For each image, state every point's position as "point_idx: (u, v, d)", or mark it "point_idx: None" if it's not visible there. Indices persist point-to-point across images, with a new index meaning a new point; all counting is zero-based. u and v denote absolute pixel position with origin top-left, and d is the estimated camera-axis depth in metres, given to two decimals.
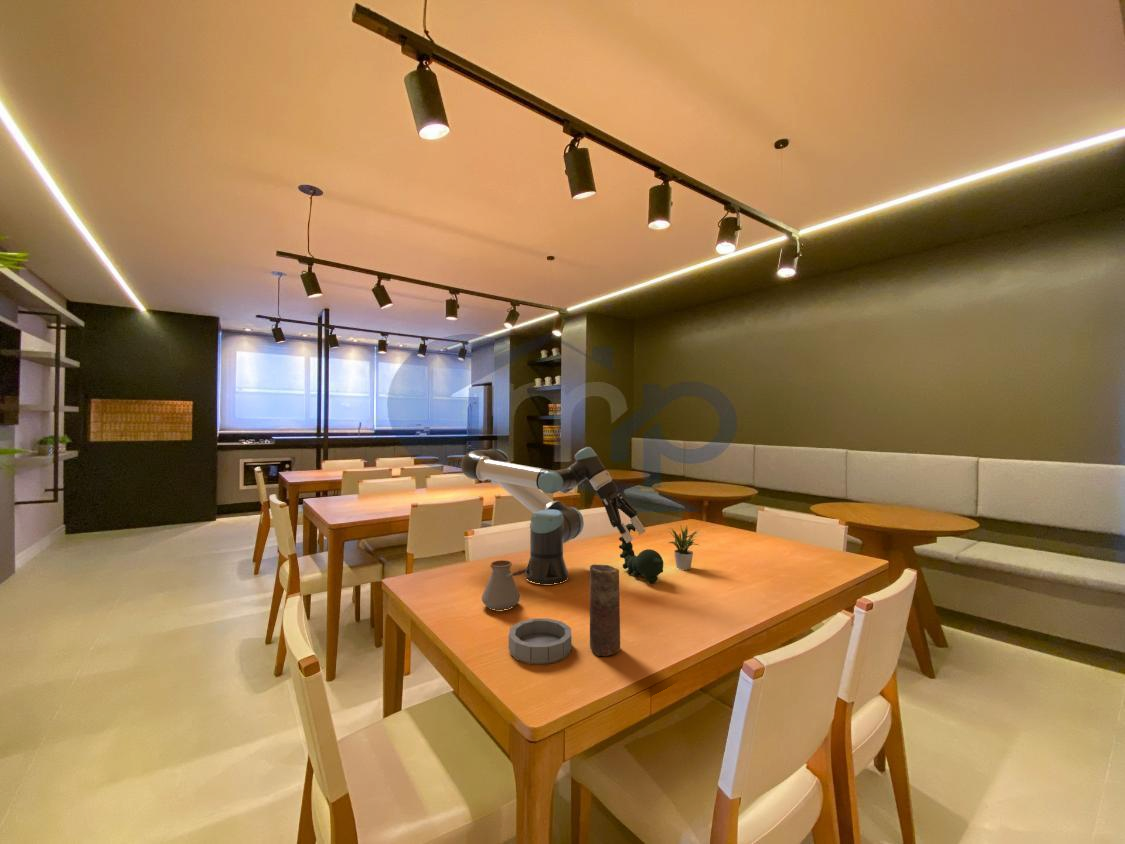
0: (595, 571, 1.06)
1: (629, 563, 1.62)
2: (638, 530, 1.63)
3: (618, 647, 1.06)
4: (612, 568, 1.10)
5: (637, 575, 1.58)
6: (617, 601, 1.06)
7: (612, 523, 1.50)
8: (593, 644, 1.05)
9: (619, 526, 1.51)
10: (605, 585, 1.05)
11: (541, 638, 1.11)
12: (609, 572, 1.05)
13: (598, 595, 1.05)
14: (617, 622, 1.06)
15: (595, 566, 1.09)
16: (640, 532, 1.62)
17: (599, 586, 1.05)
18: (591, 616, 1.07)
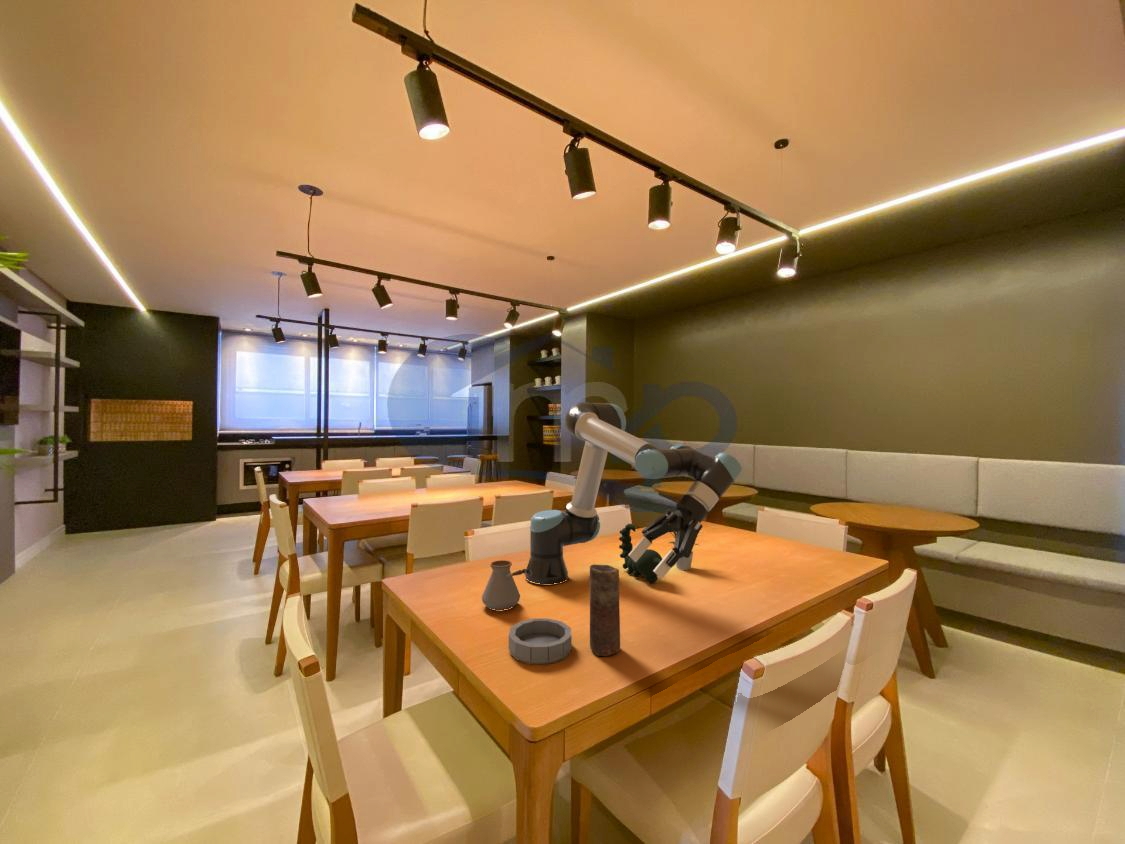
0: (595, 571, 1.06)
1: (629, 563, 1.62)
2: (634, 552, 1.17)
3: (618, 647, 1.06)
4: (612, 568, 1.10)
5: (637, 575, 1.58)
6: (617, 601, 1.06)
7: (684, 551, 1.03)
8: (593, 644, 1.05)
9: (677, 558, 1.04)
10: (605, 585, 1.05)
11: (541, 638, 1.11)
12: (609, 572, 1.05)
13: (598, 595, 1.05)
14: (617, 622, 1.06)
15: (595, 566, 1.09)
16: (632, 556, 1.17)
17: (599, 586, 1.05)
18: (591, 616, 1.07)
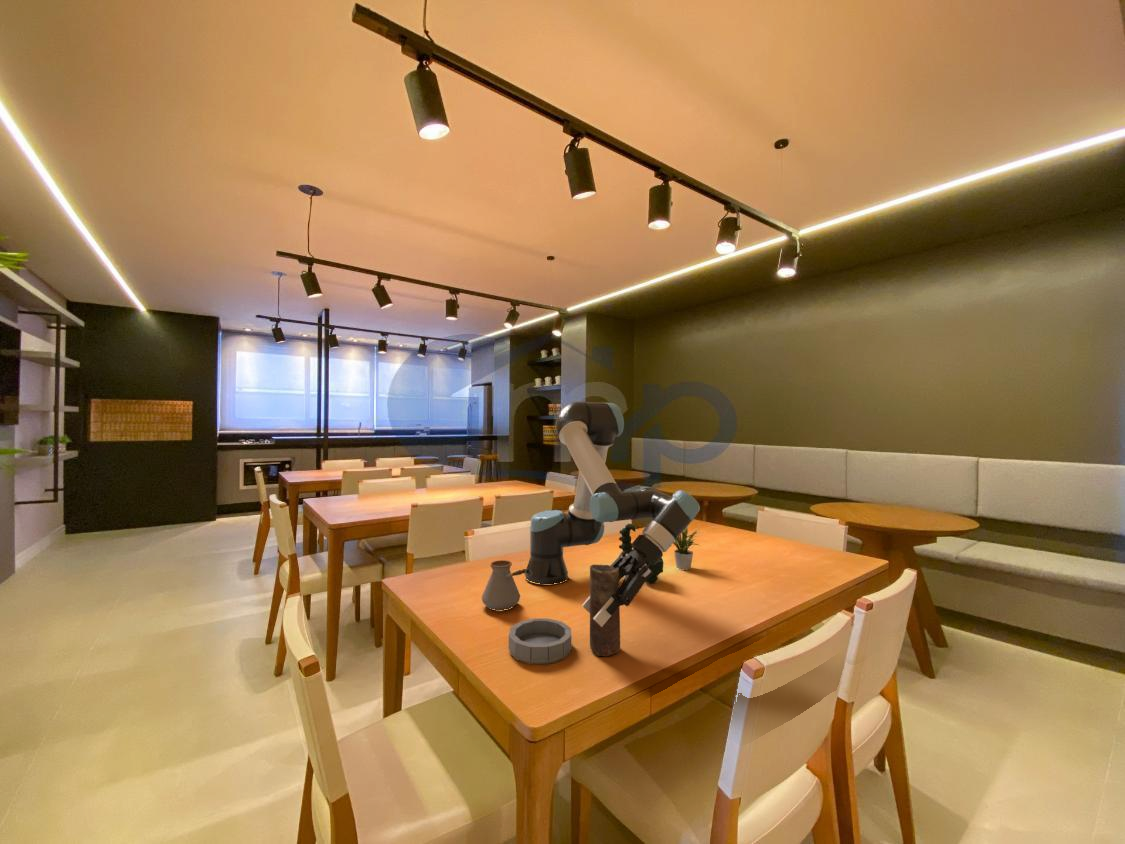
0: (595, 571, 1.05)
1: None
2: (588, 602, 1.10)
3: (618, 647, 1.06)
4: (612, 568, 1.09)
5: None
6: None
7: (623, 599, 1.01)
8: (593, 644, 1.05)
9: (617, 605, 1.03)
10: (605, 585, 1.04)
11: (541, 638, 1.11)
12: (609, 572, 1.05)
13: (599, 595, 1.05)
14: (617, 622, 1.06)
15: (595, 566, 1.09)
16: (586, 606, 1.10)
17: (600, 586, 1.05)
18: (591, 616, 1.06)
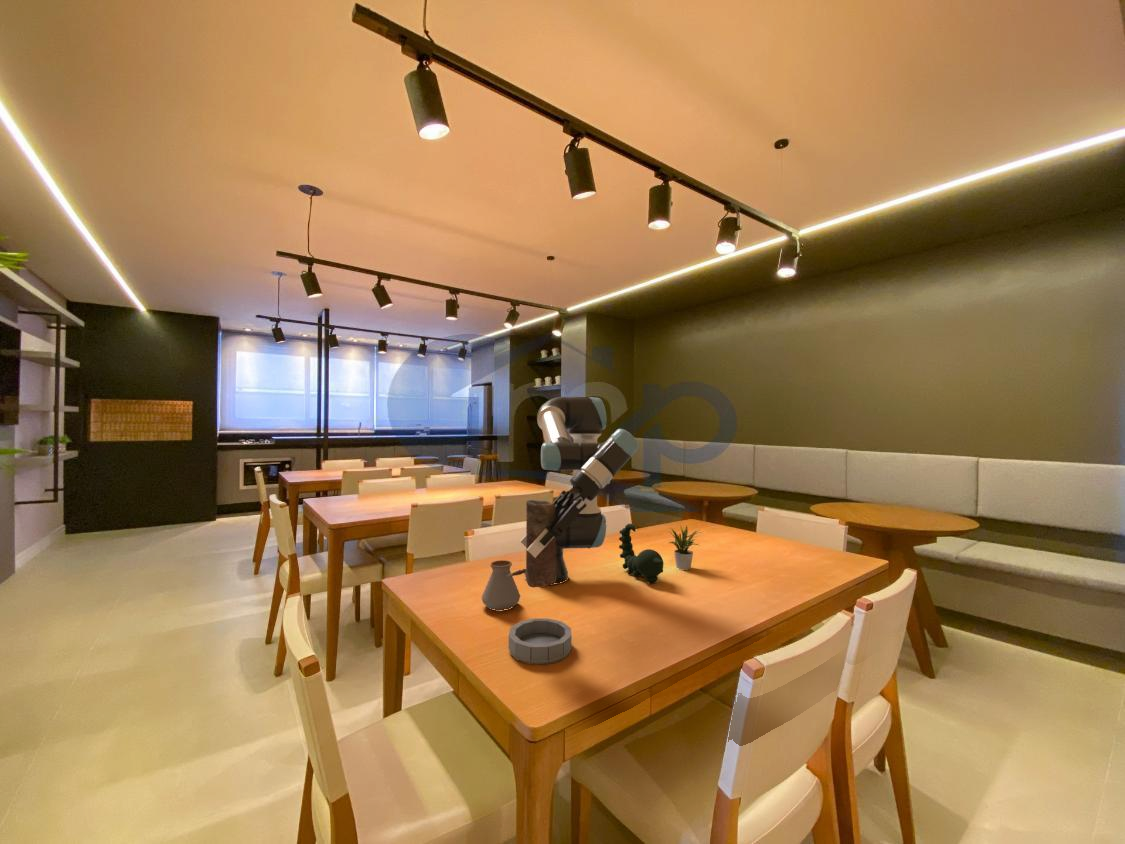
0: (530, 504, 1.06)
1: (629, 563, 1.62)
2: (526, 538, 1.11)
3: (553, 579, 1.06)
4: (549, 503, 1.10)
5: (637, 575, 1.58)
6: None
7: (556, 529, 1.02)
8: (528, 576, 1.06)
9: (550, 536, 1.03)
10: (539, 517, 1.05)
11: (541, 638, 1.11)
12: (544, 505, 1.06)
13: (533, 527, 1.05)
14: (552, 555, 1.06)
15: (532, 501, 1.09)
16: (524, 542, 1.11)
17: (534, 518, 1.05)
18: None
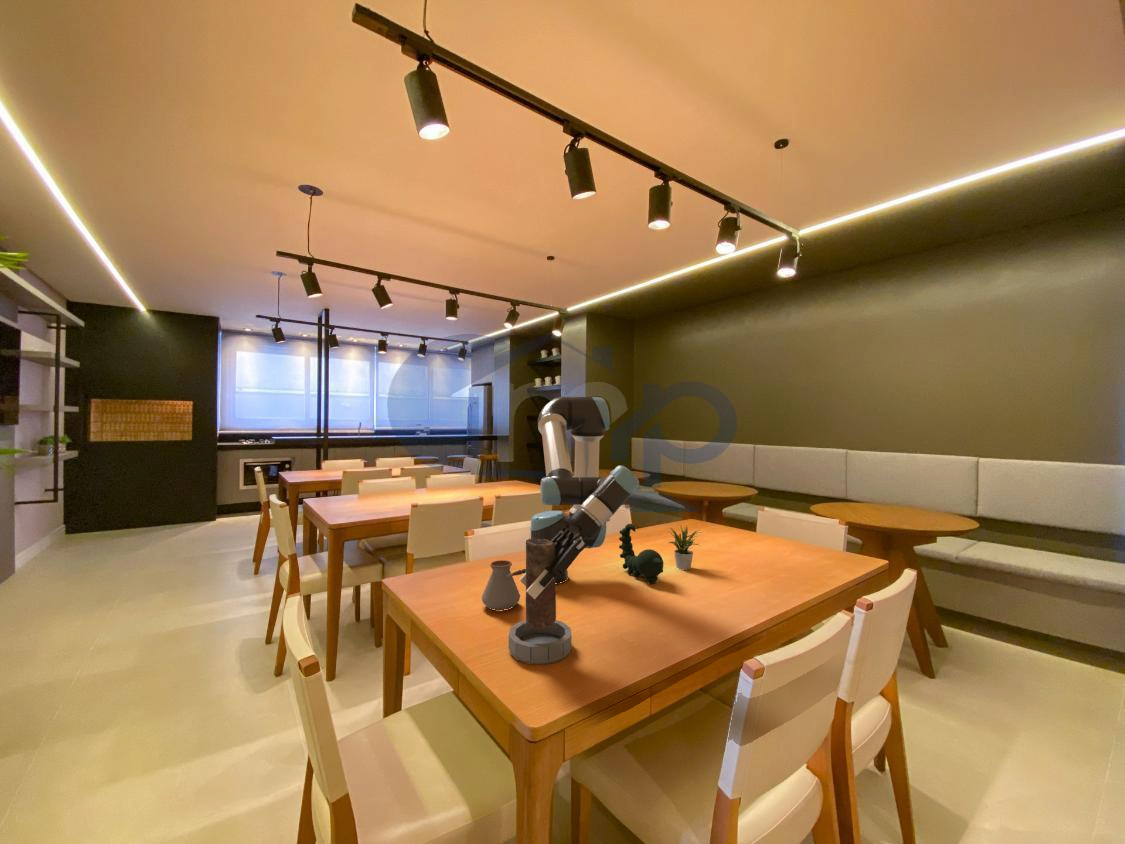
0: (529, 544, 1.05)
1: (629, 563, 1.62)
2: None
3: (553, 620, 1.06)
4: (549, 542, 1.09)
5: (637, 575, 1.58)
6: None
7: (555, 571, 1.01)
8: (528, 617, 1.05)
9: (550, 577, 1.03)
10: (539, 558, 1.04)
11: (541, 638, 1.11)
12: (543, 545, 1.05)
13: (533, 568, 1.05)
14: (552, 595, 1.06)
15: (531, 540, 1.09)
16: (524, 580, 1.10)
17: (533, 559, 1.05)
18: (526, 589, 1.06)
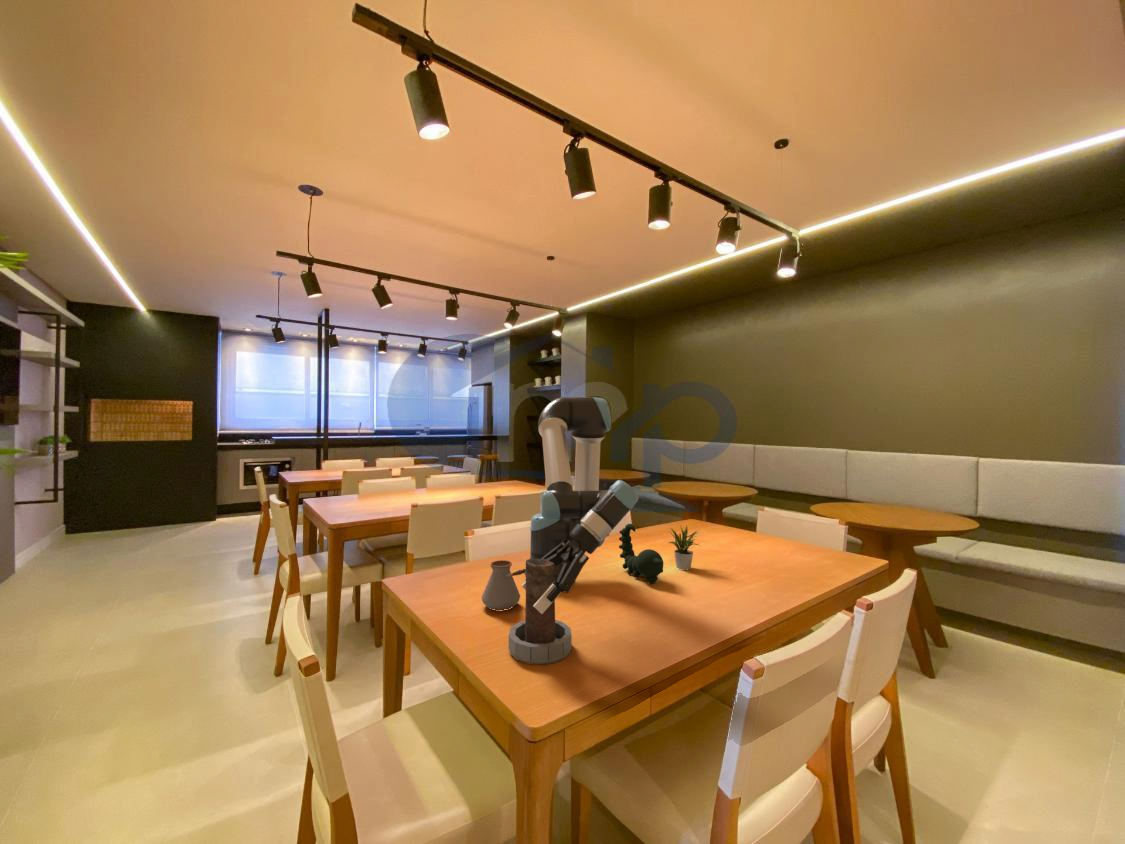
0: (529, 565, 1.07)
1: (629, 563, 1.62)
2: None
3: (552, 640, 1.06)
4: (548, 562, 1.11)
5: (637, 575, 1.58)
6: None
7: (563, 586, 1.00)
8: (527, 637, 1.06)
9: (557, 592, 1.01)
10: (538, 578, 1.06)
11: None
12: (543, 566, 1.06)
13: (532, 588, 1.06)
14: (551, 615, 1.07)
15: (531, 560, 1.10)
16: (525, 586, 1.14)
17: (533, 579, 1.06)
18: (526, 610, 1.07)
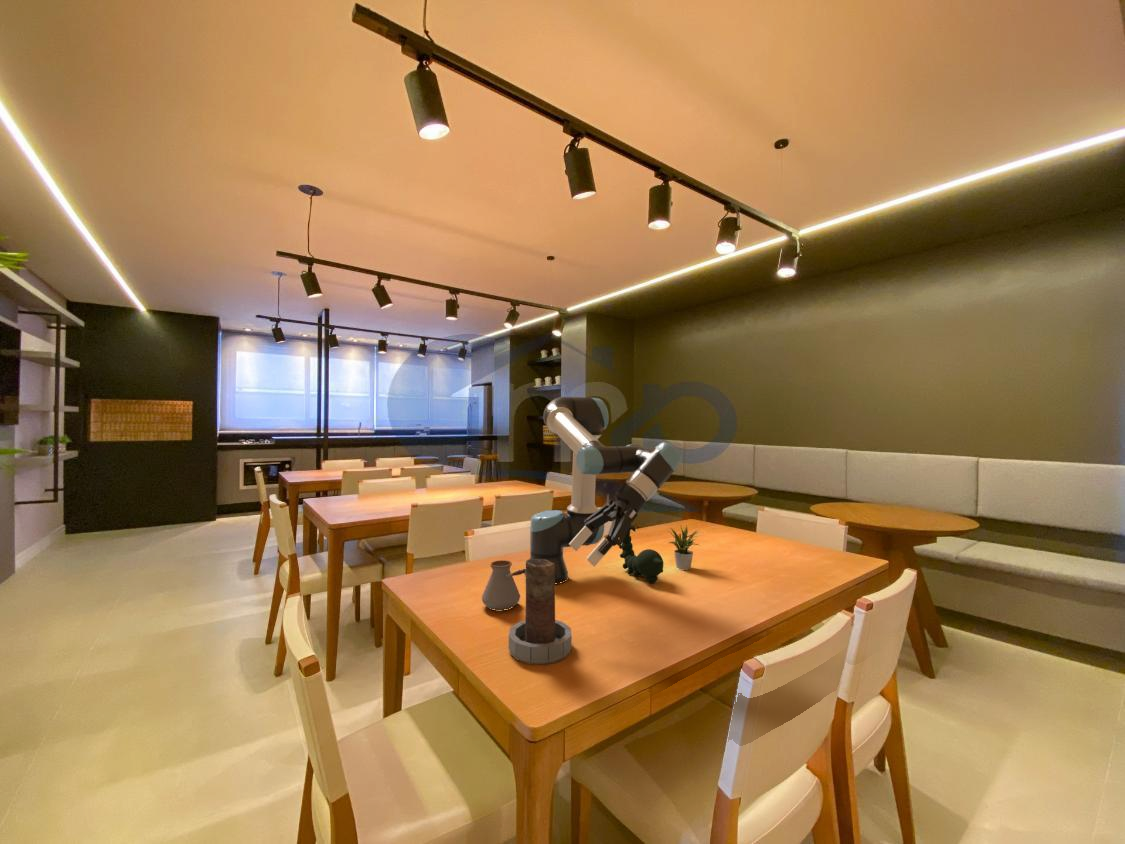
0: (529, 565, 1.07)
1: (629, 563, 1.62)
2: (575, 541, 1.18)
3: (552, 640, 1.06)
4: (549, 562, 1.10)
5: (637, 575, 1.58)
6: (551, 595, 1.07)
7: (615, 539, 1.03)
8: (527, 637, 1.06)
9: (609, 546, 1.05)
10: (538, 579, 1.05)
11: None
12: (543, 566, 1.06)
13: (532, 589, 1.06)
14: (551, 616, 1.06)
15: (531, 560, 1.10)
16: (573, 544, 1.18)
17: (533, 580, 1.06)
18: (526, 610, 1.07)
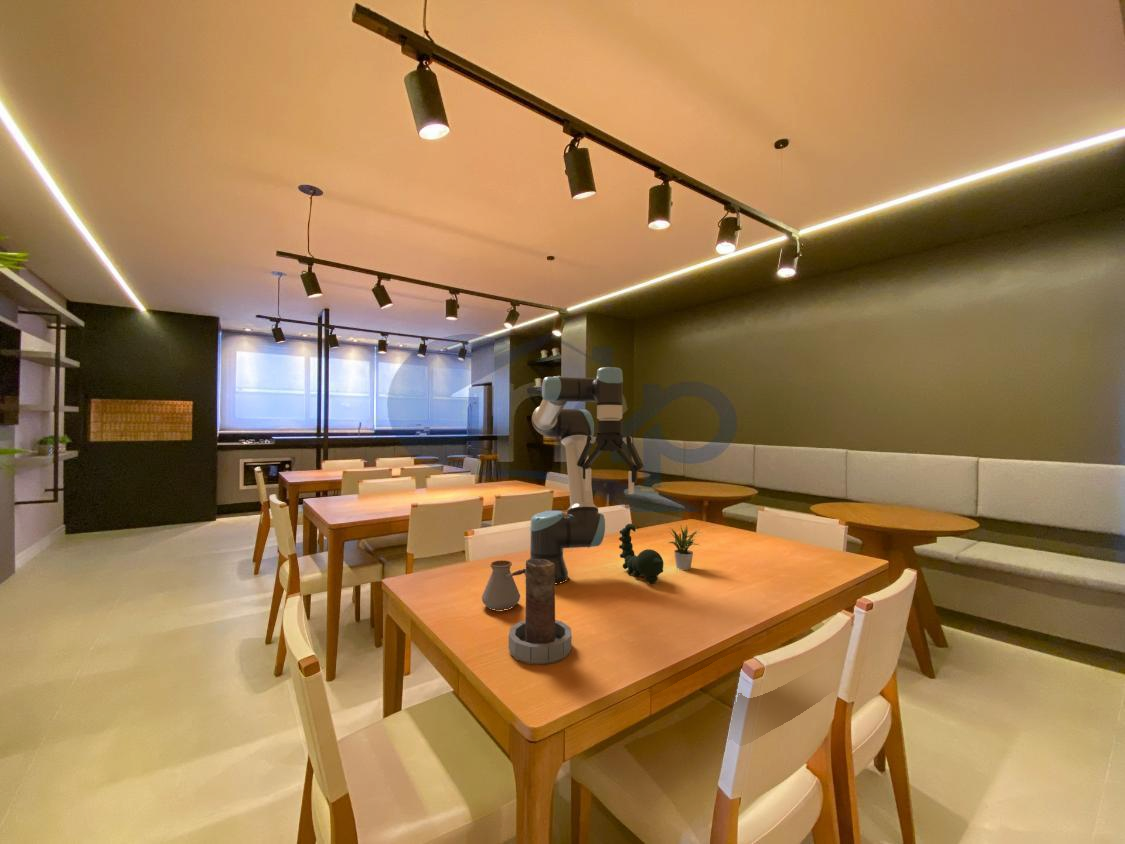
0: (529, 565, 1.07)
1: (629, 563, 1.62)
2: (588, 485, 1.34)
3: (552, 640, 1.06)
4: (549, 562, 1.10)
5: (637, 575, 1.58)
6: (551, 595, 1.07)
7: (641, 466, 1.26)
8: (527, 637, 1.06)
9: (636, 473, 1.28)
10: (538, 579, 1.05)
11: None
12: (543, 566, 1.06)
13: (532, 589, 1.06)
14: (551, 616, 1.07)
15: (531, 560, 1.10)
16: (588, 488, 1.34)
17: (533, 580, 1.06)
18: (526, 610, 1.07)
